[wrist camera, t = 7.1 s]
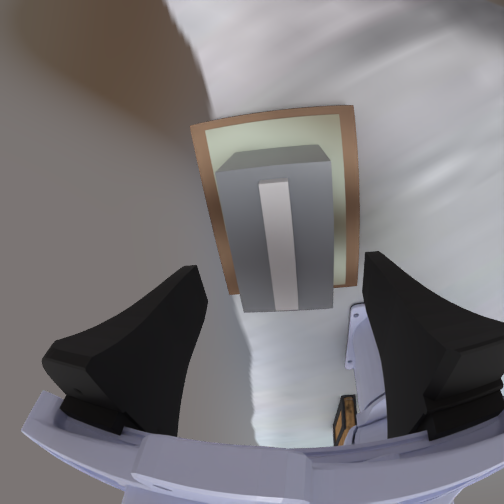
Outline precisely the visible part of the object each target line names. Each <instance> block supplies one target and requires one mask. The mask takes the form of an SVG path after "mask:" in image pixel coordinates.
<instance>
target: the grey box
mask: <svg viewBox="0 0 504 504" xmlns="http://www.w3.org/2000/svg"><path fill="white" fill-rule="evenodd" d="M215 176H216V181H217V186H218V191H219V197H220V202H221V207H222V212H223V216H224V221H225V226H226V231H227V236H228V241H229V246H230V250H231V255H232V260H233V265H234V269H235V274H236V279H237V283H238V288H239V292H240V297H241V302H242V306H243V311H244V313H245V312H276V311H297V310H314V309H329V308H333V286H334V212H333V186H332V168H331V161H330V159H329V158H328V156H327V155H326V154H325V152H324V151H323V150H322V148H321V147H320V146H319V144H315V145H300V146H288V147H277V148H267V149H259V150H250V151H242V152H235V153H234V154H233V155H232V156H231V157H230V158H229V159H228V160H227V161H226V162H225V163H224V164H223V165H222V166H221V167H220V168H219V169H218V170H217V171H216V172H215Z"/></svg>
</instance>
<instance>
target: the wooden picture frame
mask: <svg viewBox="0 0 504 504" xmlns="http://www.w3.org/2000/svg"><path fill="white" fill-rule="evenodd" d="M190 129H191V135H192V139H193V144H194V149H195V153H196V158H197V163H198V167H199V172H200V176H201V180H202V185H203V189H204V194H205V198H206V202H207V207H208V211H209V215H210V219H211V223H212V227H213V232H214V236H215V239H216V244H217V248H218V252H219V256H220V260H221V264H222V268H223V272H224V275H225V280H226V283H227V287H228V291H229V294H230V295H233V294H240V292H239V288H238V283H237V279H236V274H235V269H234V265H233V260H232V255H231V250H230V246H229V241H228V236H227V231H226V226H225V221H224V216H223V212H222V207H221V202H220V197H219V191H218V186H217V181H216V176H215V172H216V171H217V170H218V169H219V168H220V167H221V166H222V165H223V164H224V163H225V162H226V161H227V160H228V159H229V158H230V157H231V156H232V155H233V154H234V153H235V152H242V151H250V150H259V149H267V148H277V147H288V146H300V145H315V144H319V146H320V147H321V148H322V150H323V151H324V152H325V154H326V155H327V156H328V158H329V159H330V161H331V168H332V186H333V212H334V286H333V288H339V287H351V286H357V279H358V261H359V225H360V204H359V169H358V151H357V137H356V126H355V116H354V107H353V105H336V106H317V107H304V108H293V109H283V110H274V111H266V112H259V113H252V114H246V115H239V116H234V117H228V118H222V119H217V120H212V121H208V122H203V123H198V124H195V125H191V126H190Z"/></svg>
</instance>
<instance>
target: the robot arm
mask: <svg viewBox="0 0 504 504" xmlns="http://www.w3.org/2000/svg"><path fill="white" fill-rule="evenodd" d="M362 293H363V298H364V303H365V304H358V305H354V306H352V307H351V312H350V323H349V333H348V342H347V351H346V359H345V368H346V369H354V373H355V380H356V387H357V395H358V403H359V410H360V413H358V414H356V417H357V425H356V426H353V427H352V428H351V429H350V430H349V432H348V434H347V436H346V438H345V441H344V445H343V446H333V447H319V448H294V449H286V448H275V447H265V446H246V445H233V444H222V443H213V442H205V441H198V440H191V439H185V438H180V437H177V432H178V421H179V413H180V405H181V399H182V393H183V387H184V383H185V378H186V373H187V369H188V365H189V362H190V359H191V356H192V353H193V350H194V348H195V345H196V342H197V339H198V337H199V334H200V331H201V328H202V325H203V322H204V319H205V314H206V310H207V304H208V299H207V296H206V293H205V290H204V287H203V284H202V281H201V277H200V274H199V271H198V268H197V265H192V266H184V267H182V268H180V269H179V270H178V271H176V272H175V273H174V274H173V275H171V276H170V277H169V278H167V279H166V280H165V281H164V282H162V283H161V284H160V285H159V286H158V287H156V288H155V289H154V290H152V291H151V292H150V293H148V294H147V295H146V296H144V297H143V298H142V299H140V300H139V301H138V302H136V303H135V304H134V305H132V306H131V307H129V308H128V309H126V310H125V311H123V312H121V313H120V314H118V315H117V316H115V317H113V318H111V319H109V320H107V321H105V322H103V323H101V324H99V325H97V326H95V327H93V328H90V329H88V330H86V331H83V332H81V333H78V334H75V335H72V336H69V337H66V338H63V339H60V340H56V341H55V342H54V343H53V344H52V345H51V347H50V348H49V350H48V351H47V353H46V354H45V356H44V357H43V358H42V364H43V368H44V369H45V371H46V372H47V374H48V375H49V376H50V377H51V379H52V380H53V381H54V382H55V383H56V384H57V385H58V386H59V388H60V389H61V390H62V391H63V392H64V393H65V394H66V397H65V399H64V400H63V399H62V398H60V397H59V396H57V395H54V394H52V393H50V392H47V391H45V390H43V391H42V393H41V395H40V396H39V398H38V400H37V401H36V403H35V405H34V407H33V408H32V411H31V412H30V414H29V416H28V418H27V419H26V421H25V423H24V425H23V427H22V429H21V431H22V432H23V433H24V434H25V435H26V436H28V437H29V438H30V439H31V440H33V441H34V442H35V443H37V444H38V445H39V446H41V447H42V448H44V449H45V450H47V451H48V452H49V453H51V454H52V455H54V456H55V457H57V458H58V459H60V460H62V461H63V462H65V463H67V464H69V465H71V466H73V467H74V468H76V469H78V470H80V471H82V472H84V473H86V474H87V475H89V476H91V477H94V478H96V479H98V480H100V481H102V482H104V483H106V484H108V485H111V486H113V487H116V488H118V489H120V490H123V491H125V494H124V497H123V500H122V503H121V504H454V498H455V497H456V496H457V495H458V494H459V492H460V491H461V490H462V489H463V488H464V487H466V486H469V485H471V484H473V483H475V482H477V481H479V480H481V479H483V478H485V477H487V476H489V475H491V474H493V473H495V472H497V471H498V470H500V469H502V468H504V396H502V393H501V391H500V390H501V389H502V388H503V382H502V380H501V377H502V375H503V374H504V322H500V321H497V320H493V319H490V318H486V317H484V316H481V315H478V314H476V313H473V312H471V311H468V310H466V309H464V308H461V307H459V306H457V305H455V304H453V303H451V302H449V301H447V300H446V299H444V298H442V297H440V296H439V295H437V294H435V293H434V292H432V291H431V290H429V289H427V288H426V287H424V286H423V285H422V284H420V283H419V282H417V281H416V280H415V279H413V278H412V277H411V276H409V275H408V274H407V273H406V272H404V271H403V270H402V269H401V268H399V267H398V266H397V265H396V264H394V263H393V262H392V261H391V260H390V259H388V258H387V257H386V256H385V255H383V254H382V253H381V252H379V251H375V252H365V262H364V277H363V289H362ZM356 313H358V314H356ZM354 314H356V315H354Z"/></svg>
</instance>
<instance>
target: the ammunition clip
mask: <svg viewBox="0 0 504 504" xmlns="http://www.w3.org/2000/svg"><path fill="white" fill-rule="evenodd" d="M356 414H357V409H356V399H355V395H347V396H341V400H340V404H339V407H338V411H337V414H336V417H335V421H334V424H333V440H334V446H343V445H344V441H345V438H346V436H347V434H348V432H349V430H350V429H351V428H352V427H353V426H356V425H357V417H356Z"/></svg>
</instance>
